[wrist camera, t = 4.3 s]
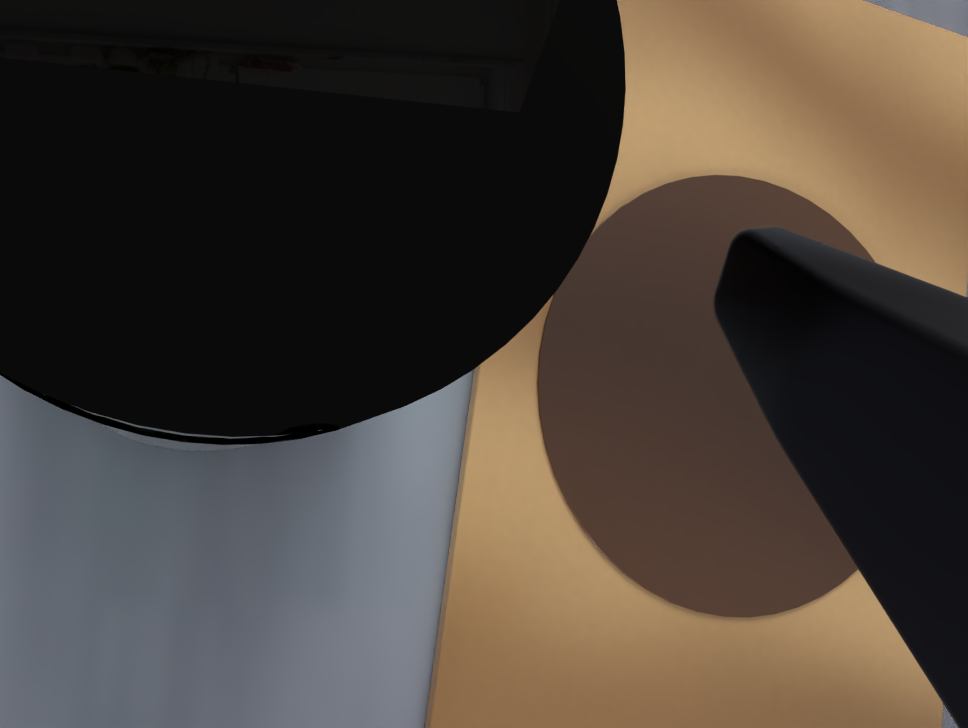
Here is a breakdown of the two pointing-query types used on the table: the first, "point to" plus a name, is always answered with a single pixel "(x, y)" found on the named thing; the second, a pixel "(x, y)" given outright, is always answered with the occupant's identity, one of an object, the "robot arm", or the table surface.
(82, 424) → the table surface
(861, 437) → the robot arm
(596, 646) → the placemat
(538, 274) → the supplement container
